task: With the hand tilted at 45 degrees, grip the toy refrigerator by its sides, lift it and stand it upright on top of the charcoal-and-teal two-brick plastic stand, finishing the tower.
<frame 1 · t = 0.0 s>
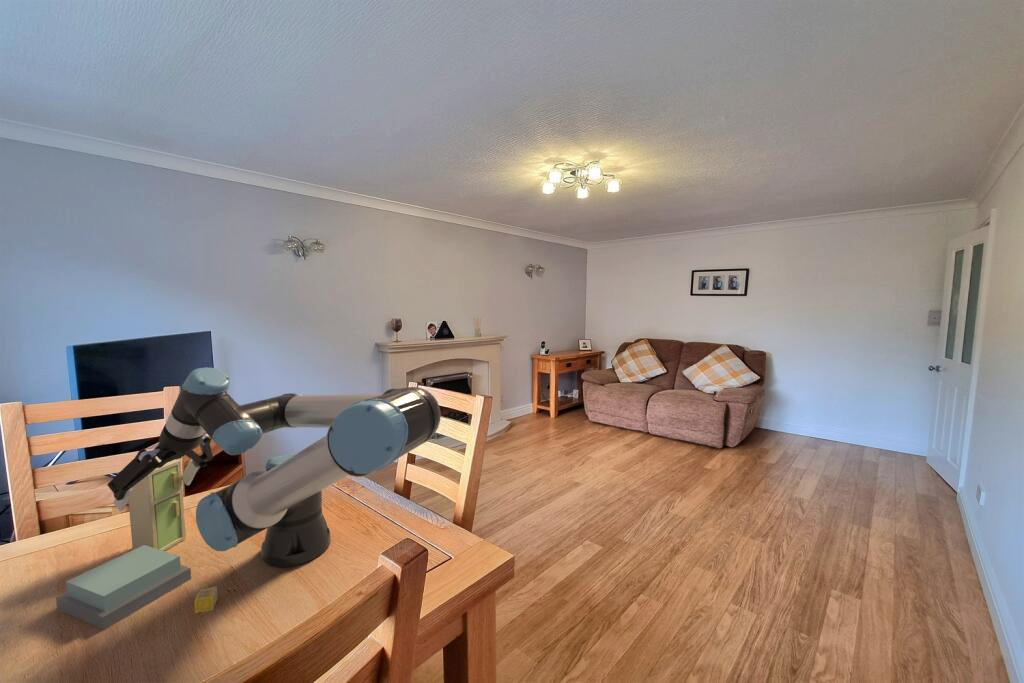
hand: (154, 493, 96), 15 cm above the table, tool tilted 35°, fingers open, 13 cm apart
brick stand: (127, 593, 85), on the table
alphabet block: (206, 607, 81), on the table
toy refrigerator: (161, 547, 101), on the table, touching gripper
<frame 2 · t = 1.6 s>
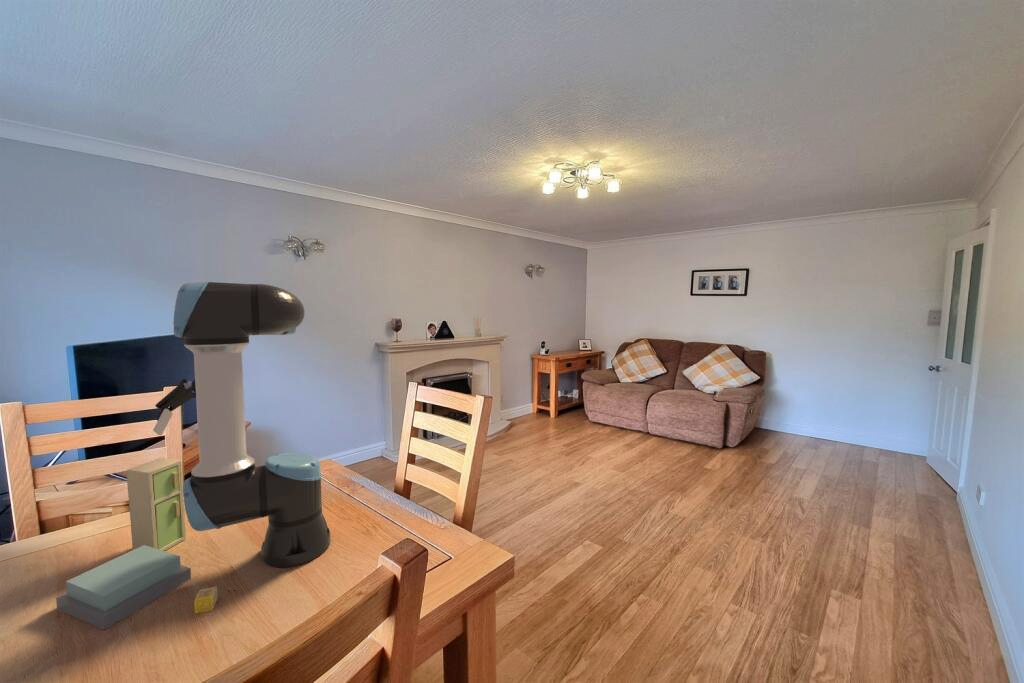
hand: (184, 432, 109), 25 cm above the table, tool tilted 45°, fingers open, 13 cm apart
toy refrigerator: (161, 547, 101), on the table
everything else where it was.
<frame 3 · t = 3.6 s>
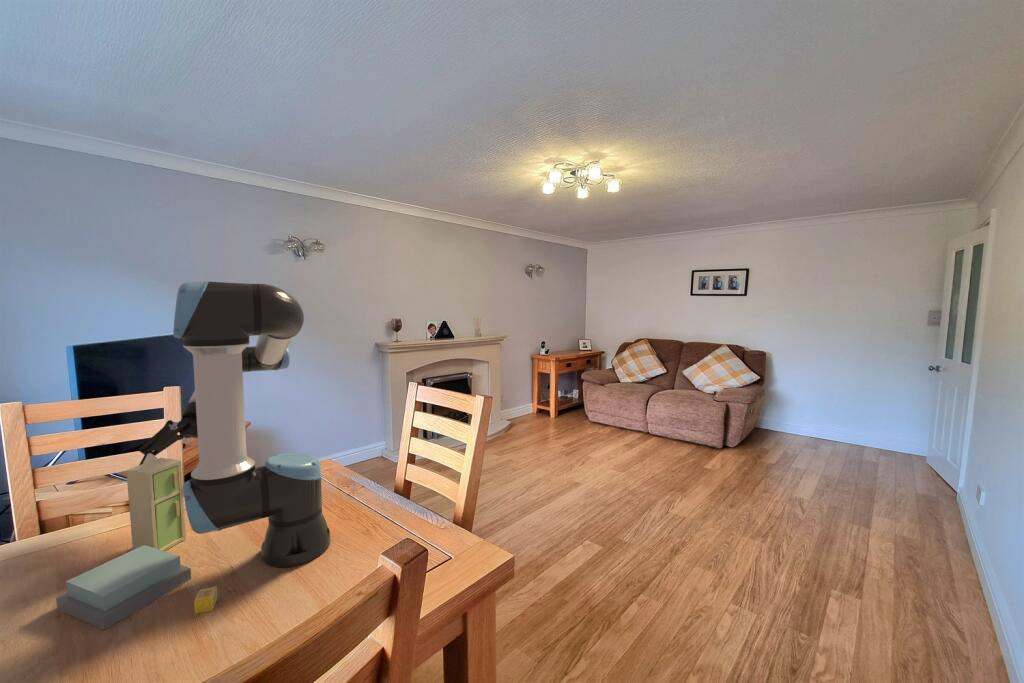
hand: (168, 479, 104), 15 cm above the table, tool tilted 45°, fingers open, 13 cm apart
nothing on the table moved.
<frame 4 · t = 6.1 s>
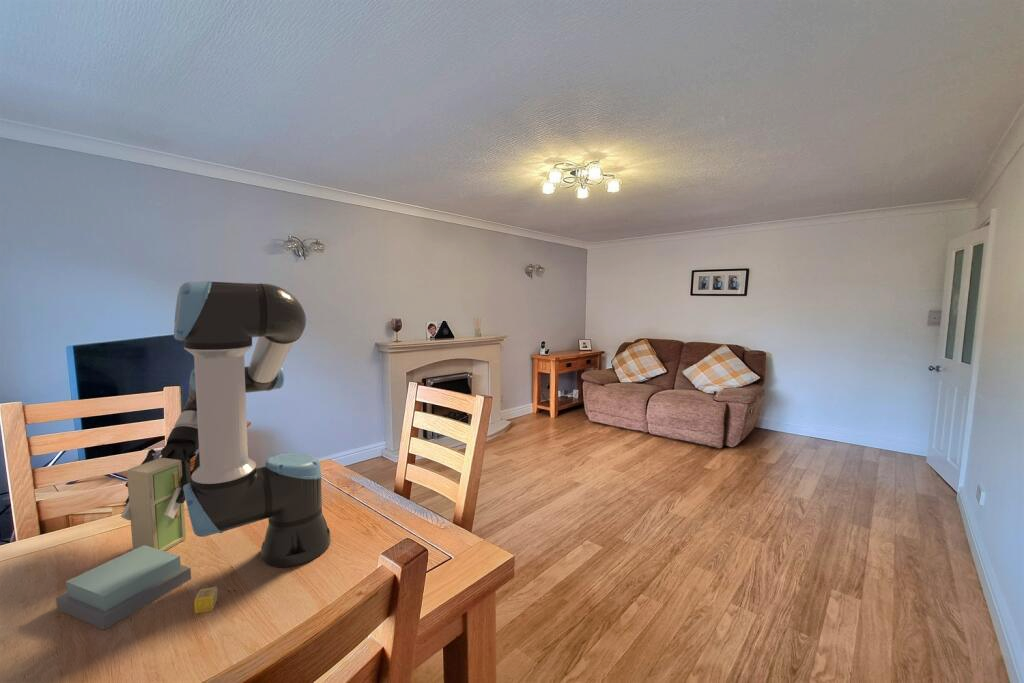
hand: (147, 517, 97), 9 cm above the table, tool tilted 45°, fingers closed on toy refrigerator, 9 cm apart
toy refrigerator: (161, 547, 101), on the table, touching gripper
everything else where it was.
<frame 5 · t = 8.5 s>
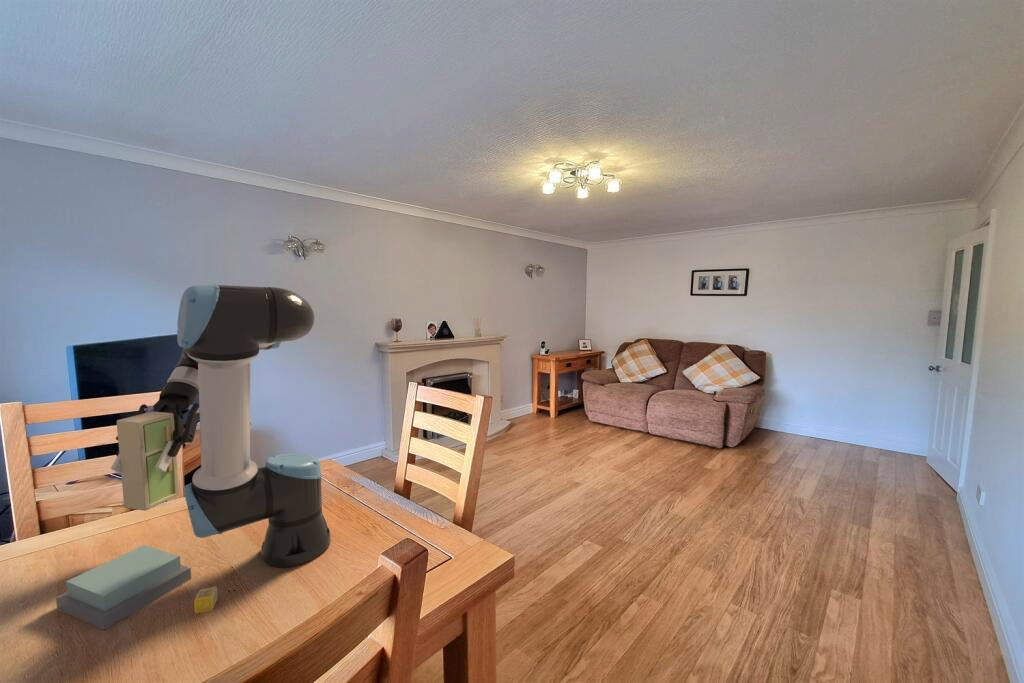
hand: (138, 470, 94), 22 cm above the table, tool tilted 45°, fingers closed on toy refrigerator, 9 cm apart
toy refrigerator: (153, 502, 98), point 12 cm above the table, touching gripper
everything else where it was.
when the fingers open (16 cm above the table, at t = 11.1 s): toy refrigerator drops 1 cm, resting on brick stand.
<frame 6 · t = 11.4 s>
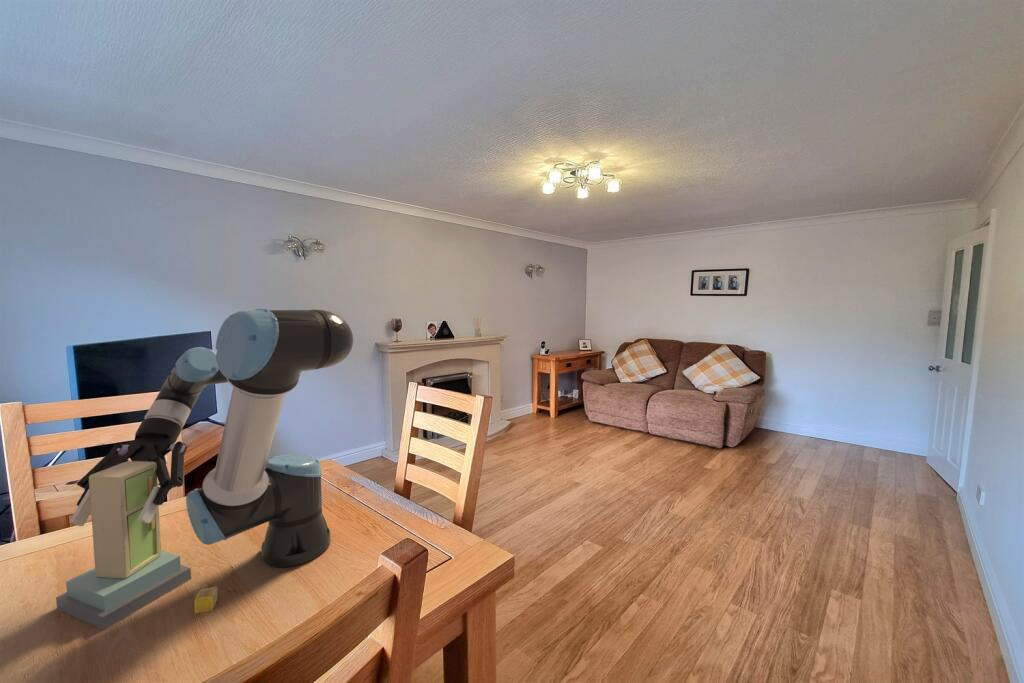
hand: (110, 522, 80), 17 cm above the table, tool tilted 45°, fingers open, 11 cm apart
toy refrigerator: (131, 567, 85), point 5 cm above the table, touching brick stand
everything else where it was.
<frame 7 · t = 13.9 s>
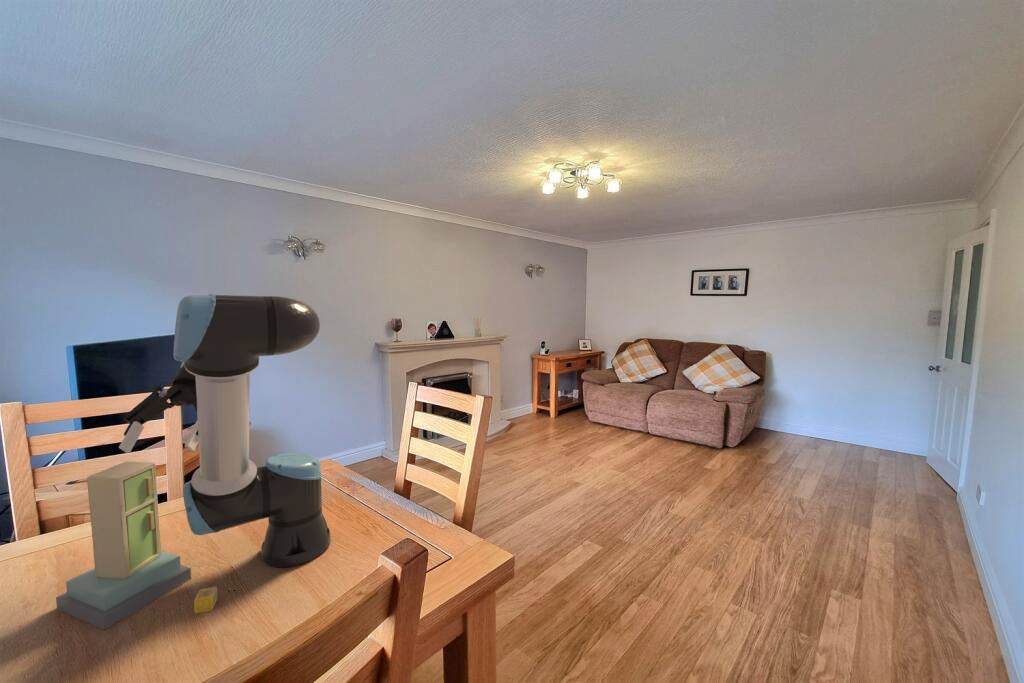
hand: (156, 449, 92), 27 cm above the table, tool tilted 45°, fingers open, 13 cm apart
nothing on the table moved.
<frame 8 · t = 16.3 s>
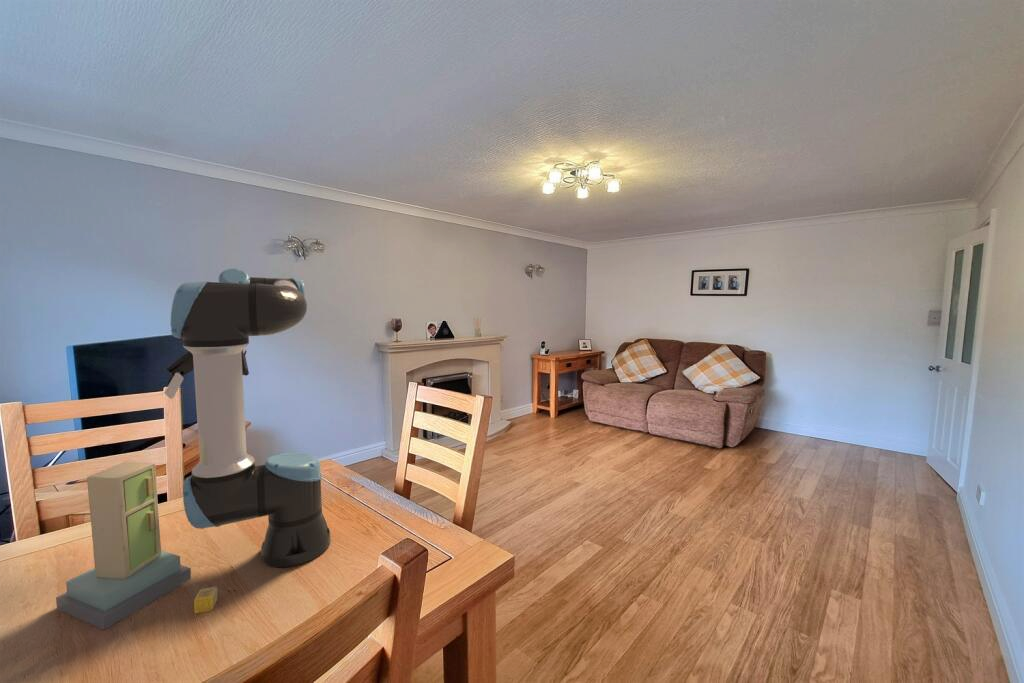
hand: (196, 395, 108), 36 cm above the table, tool tilted 45°, fingers open, 13 cm apart
nothing on the table moved.
at the end: toy refrigerator 0.9 cm off-centre on the brick stand, point 5.3 cm above the brick stand's base; toy refrigerator tilted 0°; the gripper is holding nothing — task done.
